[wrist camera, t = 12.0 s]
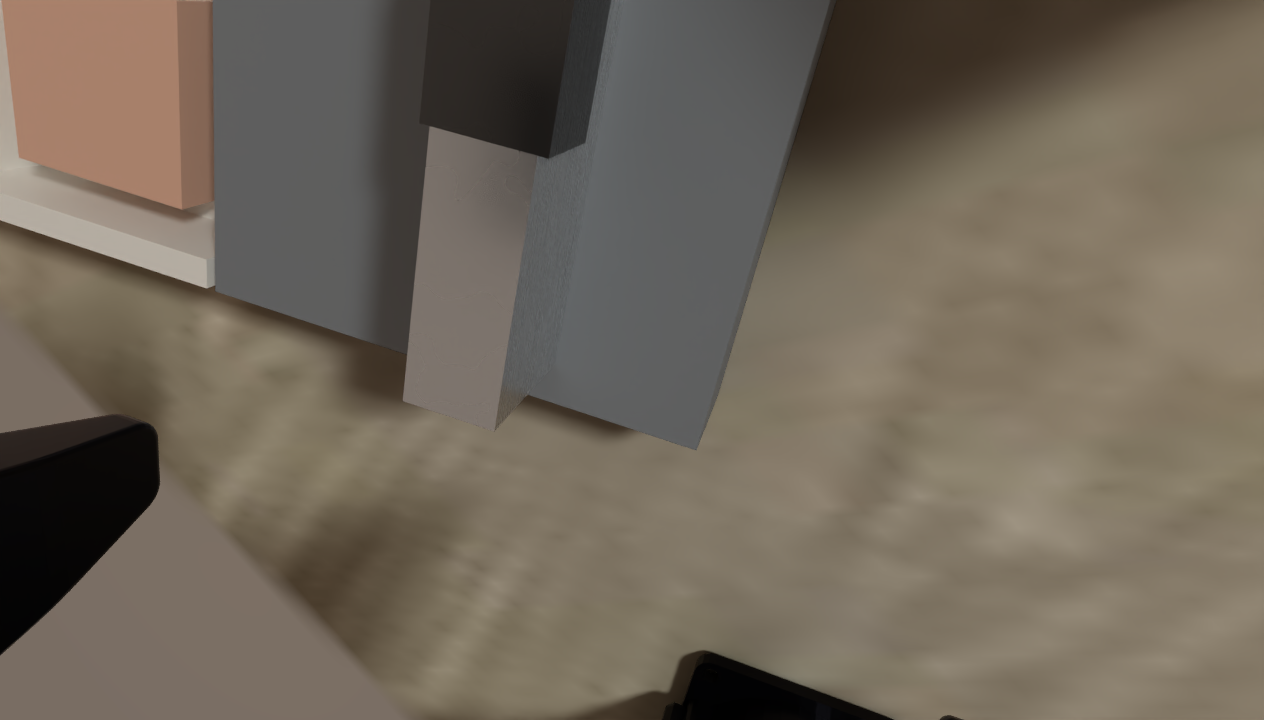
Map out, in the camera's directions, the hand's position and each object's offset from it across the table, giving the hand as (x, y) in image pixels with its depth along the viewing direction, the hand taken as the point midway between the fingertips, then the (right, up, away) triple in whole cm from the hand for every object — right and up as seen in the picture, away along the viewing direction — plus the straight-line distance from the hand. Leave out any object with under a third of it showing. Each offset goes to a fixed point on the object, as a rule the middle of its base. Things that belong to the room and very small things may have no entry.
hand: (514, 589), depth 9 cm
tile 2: (-12, +10, +13) cm, 20 cm away
